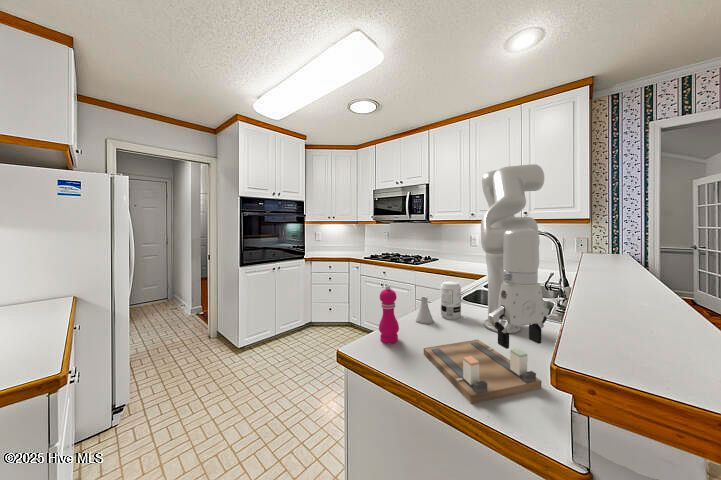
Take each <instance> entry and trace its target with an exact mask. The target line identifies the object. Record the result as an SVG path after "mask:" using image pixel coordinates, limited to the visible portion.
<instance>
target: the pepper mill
mask: <svg viewBox="0 0 721 480" xmlns="http://www.w3.org/2000/svg"><path fill="white" fill-rule="evenodd" d="M384 288H385V289H382V290H381V291H380V293H379V300H380V302H381V304H380V305H381V306H380V307H381V308H382V315H381V319H380V320H379V324H378V331H379V332H380V335H379V336H380V341H381V343H383V344H388V345H389V344H395V343H397V342H398V340H399V335H398V332H399V330H400V327H399V323H398V320H397V319H396V318H397V317H396V316H395V308H396V301H397V294H396V292H395V290H393V289H391V286H390V285H389V284H386V285H385V287H384Z"/></svg>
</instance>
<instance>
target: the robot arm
mask: <svg viewBox="0 0 721 480" xmlns="http://www.w3.org/2000/svg"><path fill="white" fill-rule="evenodd" d="M544 184H545V172H544V170H543V168H542V167H541V166H540V165H539V164H537V163H536V164H535V163H534V164H533V163H532V164H522V165H521V164H519V165H512V166H511V165H509V166H504V167H501V168H500V169H497V170H491V171H488V172H485V173H484V175H483V176H482V179H481V185H482V191H483V196H484V198H485V200H486V202H487V206H488V209H487V210H486V212H485V213H484V215H482V219H481V222H480V244H481V248H482V250H483V252H484V253H485V262H486V268H487V318H486V319H485V320H484V321H483V326H484V327H485V328H486V329H488V330H490V331H493V332H496V333H497V344H498V345H499V346H501V347H502V348H504V349H505V350H508V349H510V334H516V333H518V332H520V331H521V326H527V325H529V326H528V339H529V340H530V341H532V342H534V343H536V344H538V345H541V344H542V329H543V328H544V327H545V322H546V321H547V317H548V315H549V312H550V309H549V308H547V307H545V306H544V299H543V298H544V297H543V291H542V286H541V284H540V283H539V282H538V279H539V274H538V272H539V270H538V269H539V266H540V241H541V240H540V236H539V226H538V223H537V221H536V220H535V219H534V218H533V217H530V216H520V217H519V216H515V215H516V214H518V213H520V212H521V211H523V210H524V208H525V207H526V205H527V198H526V193H525V192H536V191H540V190H541V189H542V188H543V186H544Z"/></svg>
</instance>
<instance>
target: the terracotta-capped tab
mask: <svg viewBox="0 0 721 480" xmlns="http://www.w3.org/2000/svg"><path fill="white" fill-rule="evenodd" d="M463 378H464V379H465V380H466V381H467V382H468V383H469V384H470V385H473V383H474V382H479V361H477V360H476V359H475V358H473V357H472V356H469V357H463Z"/></svg>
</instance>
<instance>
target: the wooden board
mask: <svg viewBox="0 0 721 480" xmlns="http://www.w3.org/2000/svg"><path fill="white" fill-rule="evenodd" d="M423 355H424V356H425V357H426V359H428V361H429V362H431V364H432V365H433V366H434V367H435V368H436V369H437V370H438V371H439V372H440V373H442V375H443V376H444V377H445V378H446V379H447V380H448V381H449V382H450V383H451V384H452V385H453V386H454V388H455V389H456V390H457V391H458V392H459V393H460V394H461V395H462V396H463V397H464V398H465V399H466V400H467V401H468V402H469V403H470V404H475V403H481V402H486V401H490V400H493V399H494V400H495V399H500V398H503V397H508V396H512V395H516V394H517V395H518V394H521V393H526V392H531V391H536V390H540V389H542V380H541V379H540V378H538V376H537V373H536V372H534V371H533V370H529V371H527V372H524V373H522V375H520V376H519V375H518V374H516V373H515V372H513V371H512V370H510V358H507V357H506V356H504V355H503V354H502V353H499V352H498V351H496V350H495V349H494V348H493V347H491V346H489V345H487V344H486V343H484V342H483V341H481V340H480V339H473V340H466V341H461V342H460V341H459V342H453V343H447V344H441V345H434V346H429V347H428V346H427V347H423ZM469 356H472V357H473V358H475V359H476V360H477V361H479V382H474V383H473V385H470V384H469V383H468V382H467V381H466V380H465V379H464V378H463V357H469Z"/></svg>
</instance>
